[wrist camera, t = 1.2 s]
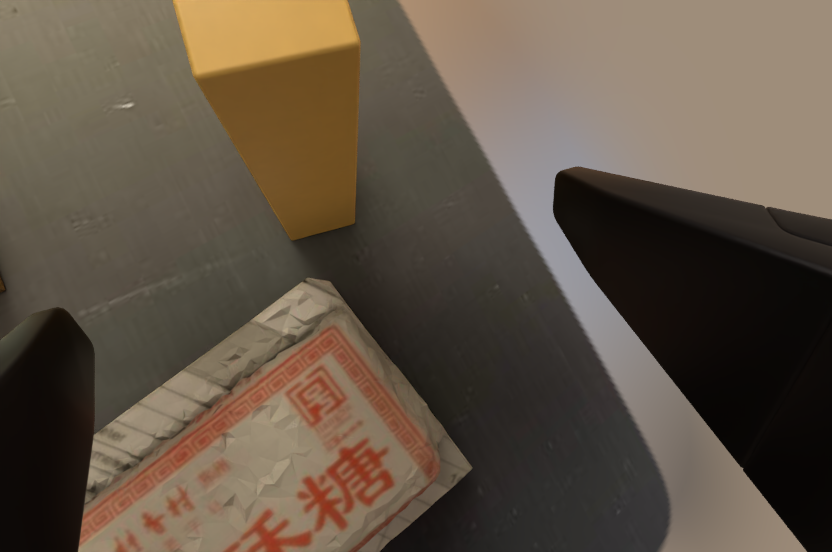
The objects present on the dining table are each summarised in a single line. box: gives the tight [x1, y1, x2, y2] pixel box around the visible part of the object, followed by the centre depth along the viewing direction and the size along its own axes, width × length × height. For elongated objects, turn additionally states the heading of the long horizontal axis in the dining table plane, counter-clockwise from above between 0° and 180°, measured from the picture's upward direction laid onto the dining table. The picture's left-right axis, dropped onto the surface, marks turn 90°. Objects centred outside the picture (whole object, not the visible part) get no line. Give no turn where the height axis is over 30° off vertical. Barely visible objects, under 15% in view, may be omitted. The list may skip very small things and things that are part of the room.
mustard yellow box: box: [172, 0, 361, 240], centre depth 15 cm, size 5×3×13 cm, turn 17°
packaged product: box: [78, 278, 472, 552], centre depth 17 cm, size 18×5×10 cm
